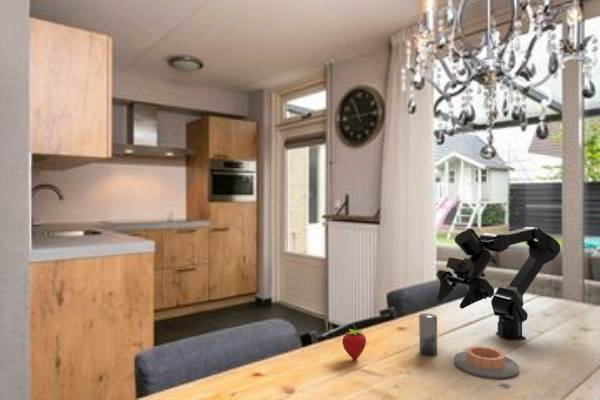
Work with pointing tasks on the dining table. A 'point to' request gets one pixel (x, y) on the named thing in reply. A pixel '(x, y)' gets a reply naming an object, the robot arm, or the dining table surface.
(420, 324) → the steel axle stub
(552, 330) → the dining table surface
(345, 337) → the strawberry
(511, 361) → the slate seat plate
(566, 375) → the dining table surface
